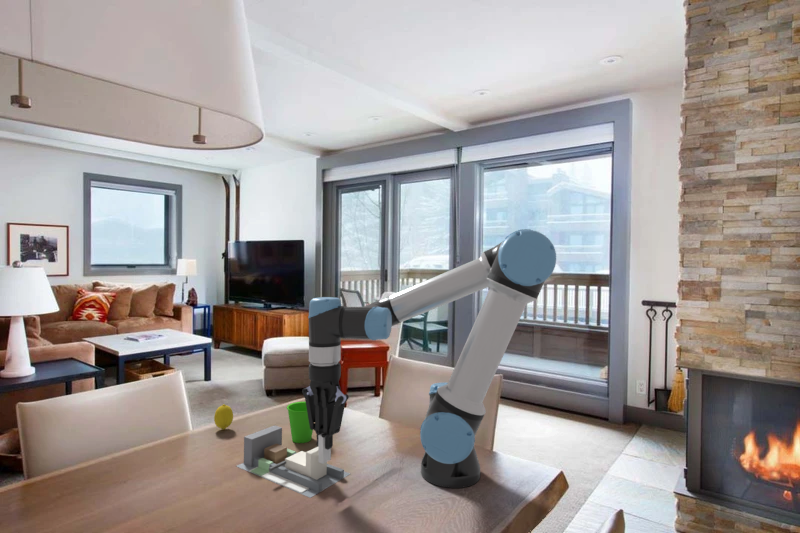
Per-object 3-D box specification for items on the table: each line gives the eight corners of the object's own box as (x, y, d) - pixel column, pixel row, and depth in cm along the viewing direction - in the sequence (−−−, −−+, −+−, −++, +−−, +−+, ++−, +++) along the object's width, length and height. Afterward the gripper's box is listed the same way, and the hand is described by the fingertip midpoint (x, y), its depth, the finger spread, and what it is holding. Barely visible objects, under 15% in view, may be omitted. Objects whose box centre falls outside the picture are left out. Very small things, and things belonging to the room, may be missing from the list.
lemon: (236, 429, 143) (237, 403, 143) (221, 434, 138) (221, 408, 138) (225, 425, 146) (225, 400, 146) (210, 430, 141) (210, 405, 141)
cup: (313, 450, 129) (314, 411, 128) (282, 449, 129) (282, 410, 129) (320, 437, 138) (320, 401, 137) (290, 437, 138) (291, 400, 138)
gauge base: (350, 478, 113) (351, 445, 113) (310, 503, 101) (310, 466, 101) (278, 451, 127) (278, 422, 127) (235, 470, 115) (236, 438, 115)
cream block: (326, 474, 112) (327, 446, 111) (293, 492, 103) (294, 461, 102) (301, 464, 116) (302, 437, 116) (268, 481, 107) (268, 452, 107)
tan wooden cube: (286, 462, 118) (287, 447, 118) (274, 468, 115) (275, 452, 115) (276, 458, 120) (276, 443, 120) (264, 464, 117) (264, 448, 117)
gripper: (356, 363, 108) (355, 462, 108) (315, 356, 115) (315, 449, 115) (335, 369, 101) (334, 474, 102) (293, 361, 109) (293, 460, 109)
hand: (324, 461), depth 108 cm, fingers closed
